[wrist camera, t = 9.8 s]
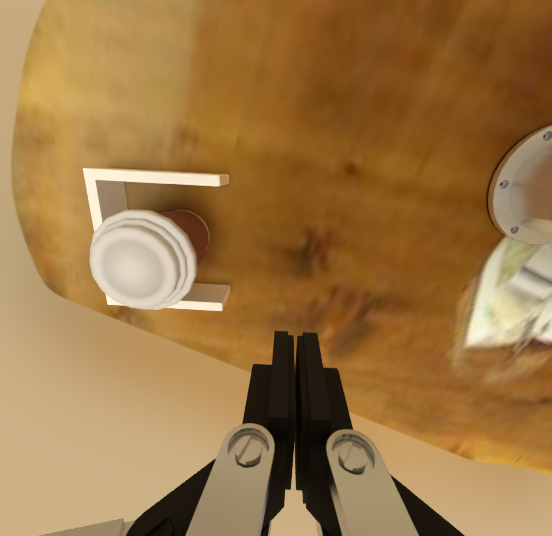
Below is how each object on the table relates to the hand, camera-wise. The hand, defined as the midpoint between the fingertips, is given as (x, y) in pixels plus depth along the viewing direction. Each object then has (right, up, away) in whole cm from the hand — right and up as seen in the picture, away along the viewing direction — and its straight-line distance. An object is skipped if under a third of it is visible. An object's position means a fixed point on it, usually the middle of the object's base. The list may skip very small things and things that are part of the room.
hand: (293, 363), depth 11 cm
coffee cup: (-12, +8, +22) cm, 27 cm away
